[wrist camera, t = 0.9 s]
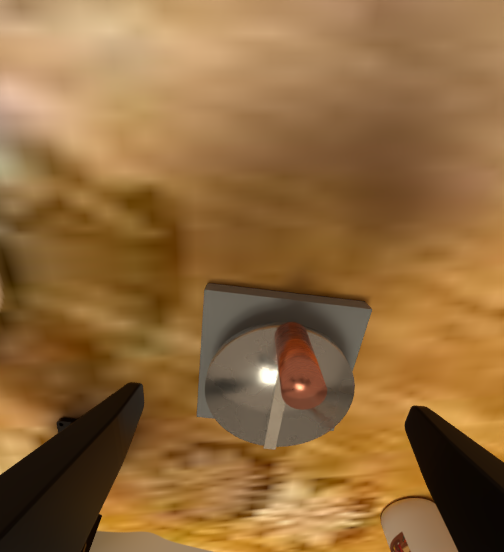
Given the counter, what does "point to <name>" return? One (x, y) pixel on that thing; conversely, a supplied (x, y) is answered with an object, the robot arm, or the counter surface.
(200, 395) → the base plate
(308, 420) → the handwheel
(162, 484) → the counter surface
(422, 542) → the milk bottle
